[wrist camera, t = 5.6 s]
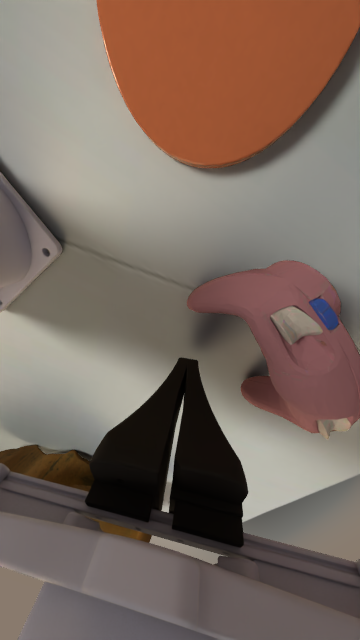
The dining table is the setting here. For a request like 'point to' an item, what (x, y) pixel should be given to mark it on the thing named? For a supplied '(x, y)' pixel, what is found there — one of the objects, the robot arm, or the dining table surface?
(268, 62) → the terracotta coaster
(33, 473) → the brown looped sculpture
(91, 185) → the dining table surface
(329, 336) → the video game controller
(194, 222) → the dining table surface
